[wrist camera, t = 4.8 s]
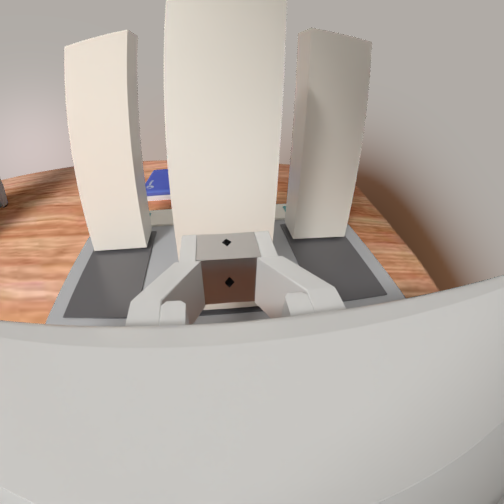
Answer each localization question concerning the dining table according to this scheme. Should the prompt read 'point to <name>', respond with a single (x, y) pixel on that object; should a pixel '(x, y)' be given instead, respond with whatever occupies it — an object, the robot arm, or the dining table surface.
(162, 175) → the hard drive
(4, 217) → the dining table surface
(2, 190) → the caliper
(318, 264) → the switch base
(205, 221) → the cream tall flat block
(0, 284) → the dining table surface
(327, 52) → the cream tall block
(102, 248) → the cream tall block
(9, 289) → the dining table surface
